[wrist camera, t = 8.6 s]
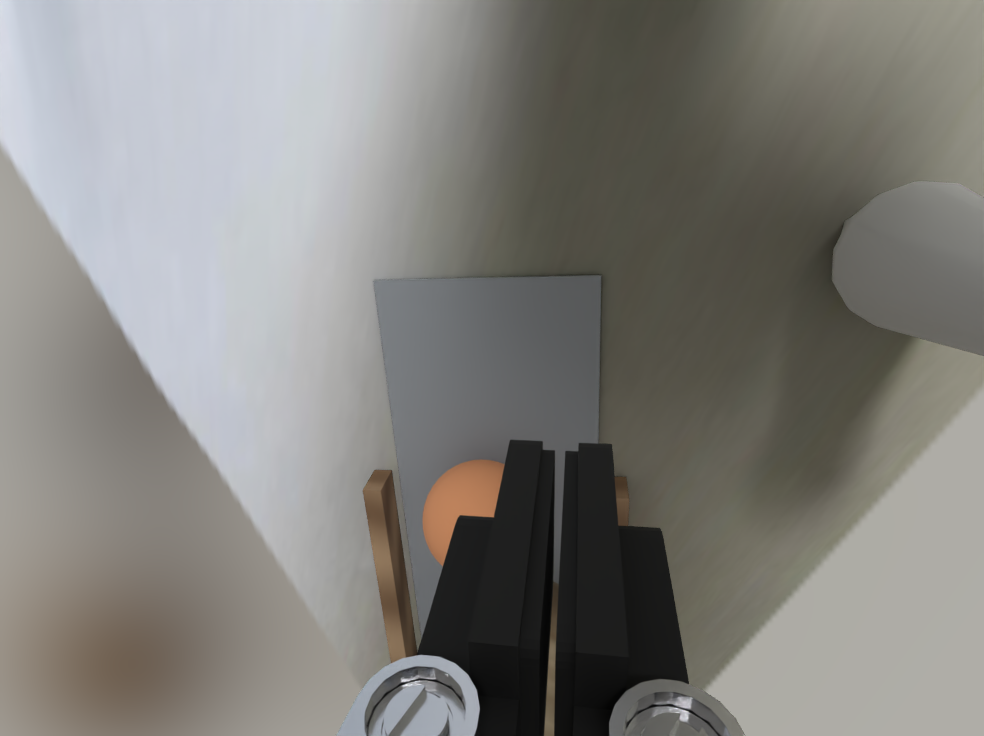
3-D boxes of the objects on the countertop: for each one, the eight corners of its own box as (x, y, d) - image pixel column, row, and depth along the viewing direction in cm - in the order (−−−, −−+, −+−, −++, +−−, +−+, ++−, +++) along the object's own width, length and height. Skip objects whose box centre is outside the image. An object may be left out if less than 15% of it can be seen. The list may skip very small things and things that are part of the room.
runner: (374, 279, 29) (373, 280, 29) (601, 274, 27) (601, 275, 27) (425, 664, 39) (425, 667, 38) (594, 677, 37) (594, 680, 37)
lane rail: (374, 469, 33) (352, 506, 30) (626, 476, 31) (631, 517, 28) (405, 669, 39) (389, 717, 36) (618, 686, 37) (621, 739, 34)
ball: (413, 597, 29) (445, 512, 34) (531, 616, 28) (546, 524, 33) (398, 511, 26) (436, 430, 31) (530, 528, 25) (547, 441, 30)
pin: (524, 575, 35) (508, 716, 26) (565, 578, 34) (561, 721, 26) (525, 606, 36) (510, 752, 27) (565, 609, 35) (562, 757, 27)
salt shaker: (952, 301, 26) (1276, 455, 14) (811, 318, 27) (998, 475, 15) (967, 162, 24) (1365, 203, 12) (814, 187, 25) (1034, 248, 13)
